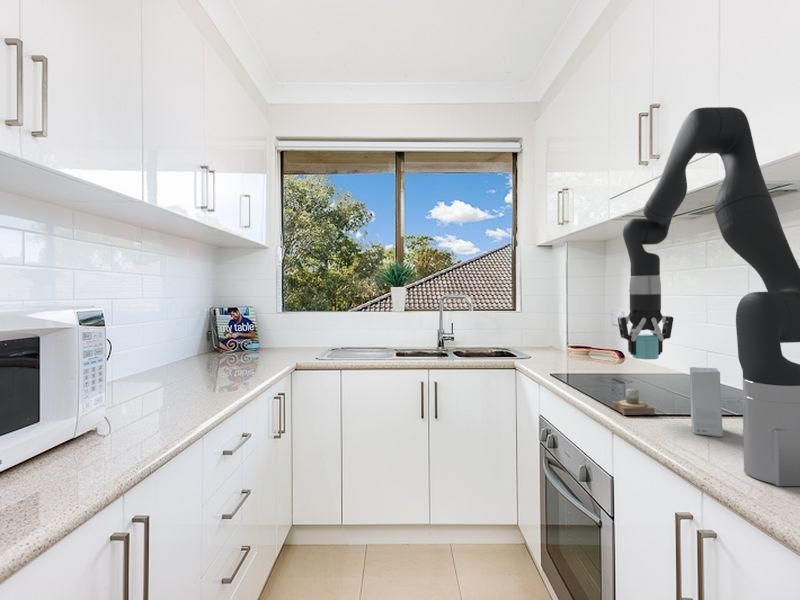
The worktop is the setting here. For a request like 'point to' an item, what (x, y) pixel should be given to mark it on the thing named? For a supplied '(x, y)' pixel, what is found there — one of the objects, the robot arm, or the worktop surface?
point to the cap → (646, 347)
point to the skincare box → (706, 401)
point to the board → (632, 404)
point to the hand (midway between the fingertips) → (645, 354)
